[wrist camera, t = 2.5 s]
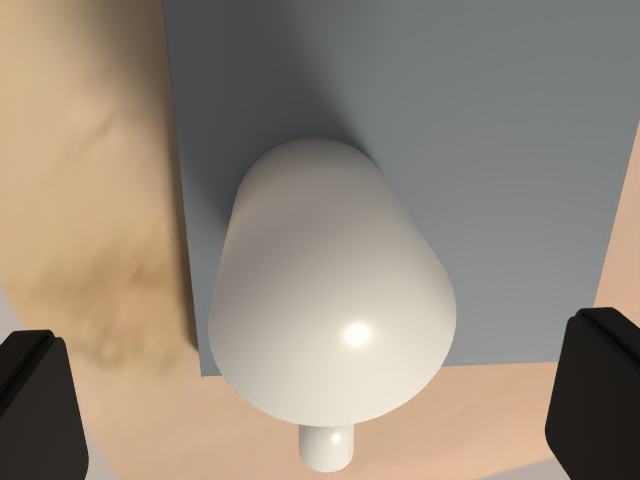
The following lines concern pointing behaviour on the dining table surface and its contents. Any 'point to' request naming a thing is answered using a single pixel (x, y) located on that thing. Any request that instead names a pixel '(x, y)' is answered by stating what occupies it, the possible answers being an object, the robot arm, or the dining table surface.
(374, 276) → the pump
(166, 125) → the dining table surface
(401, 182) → the motor stand
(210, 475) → the dining table surface
